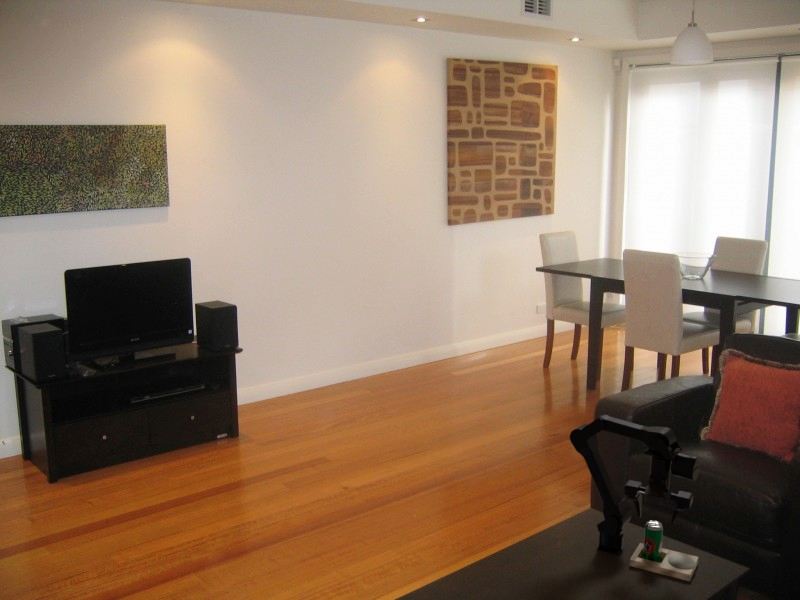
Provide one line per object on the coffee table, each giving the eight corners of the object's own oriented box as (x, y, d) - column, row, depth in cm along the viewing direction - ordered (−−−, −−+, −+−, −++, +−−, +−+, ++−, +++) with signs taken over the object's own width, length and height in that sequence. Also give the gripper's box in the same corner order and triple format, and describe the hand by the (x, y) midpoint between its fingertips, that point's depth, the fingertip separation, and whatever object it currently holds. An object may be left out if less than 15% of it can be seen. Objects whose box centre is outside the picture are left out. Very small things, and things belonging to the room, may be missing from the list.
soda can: (661, 566, 236) (664, 528, 234) (643, 564, 237) (646, 526, 235) (659, 558, 241) (662, 520, 239) (642, 556, 242) (644, 519, 240)
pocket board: (629, 565, 237) (629, 558, 236) (639, 548, 247) (640, 541, 247) (690, 581, 228) (691, 574, 228) (699, 563, 238) (699, 556, 238)
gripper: (621, 473, 231) (617, 524, 234) (688, 488, 223) (683, 540, 226) (630, 461, 241) (626, 509, 244) (695, 474, 232) (690, 524, 235)
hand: (655, 521), depth 237 cm, fingers open, 9 cm apart
